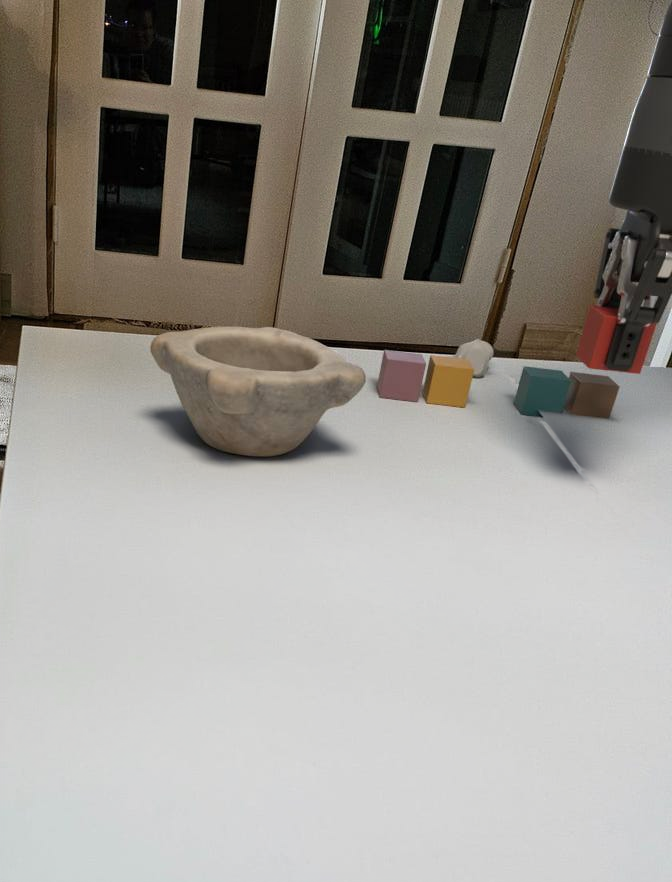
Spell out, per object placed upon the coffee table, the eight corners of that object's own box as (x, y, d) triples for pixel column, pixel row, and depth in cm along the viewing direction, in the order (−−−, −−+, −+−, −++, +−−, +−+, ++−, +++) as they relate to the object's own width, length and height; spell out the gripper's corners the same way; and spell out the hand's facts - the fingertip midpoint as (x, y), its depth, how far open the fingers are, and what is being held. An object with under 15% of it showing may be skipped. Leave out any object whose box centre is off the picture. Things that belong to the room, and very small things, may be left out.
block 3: (550, 407, 113) (561, 370, 111) (559, 419, 109) (571, 380, 107) (513, 403, 113) (523, 365, 111) (521, 414, 109) (531, 376, 107)
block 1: (413, 391, 114) (421, 354, 111) (417, 402, 110) (426, 363, 108) (376, 387, 114) (384, 349, 112) (379, 397, 110) (387, 358, 108)
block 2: (459, 397, 113) (468, 359, 111) (465, 407, 110) (474, 369, 107) (422, 392, 114) (430, 355, 111) (426, 403, 110) (435, 364, 107)
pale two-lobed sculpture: (457, 370, 129) (496, 365, 127) (448, 382, 123) (489, 377, 121) (454, 338, 128) (494, 333, 126) (446, 348, 121) (487, 343, 119)
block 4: (596, 413, 113) (608, 376, 111) (607, 424, 109) (620, 386, 107) (559, 408, 113) (570, 371, 111) (568, 420, 109) (580, 381, 107)
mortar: (205, 480, 82) (217, 376, 77) (134, 417, 95) (140, 324, 90) (365, 467, 89) (384, 371, 84) (278, 410, 102) (291, 323, 97)
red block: (624, 361, 86) (641, 310, 83) (640, 374, 82) (657, 321, 80) (575, 355, 86) (590, 304, 84) (588, 368, 82) (604, 315, 80)
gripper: (759, 157, 69) (678, 388, 78) (689, 146, 81) (626, 347, 90) (656, 147, 69) (586, 378, 78) (602, 137, 81) (547, 338, 90)
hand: (608, 360), depth 84 cm, fingers closed on red block, 4 cm apart
